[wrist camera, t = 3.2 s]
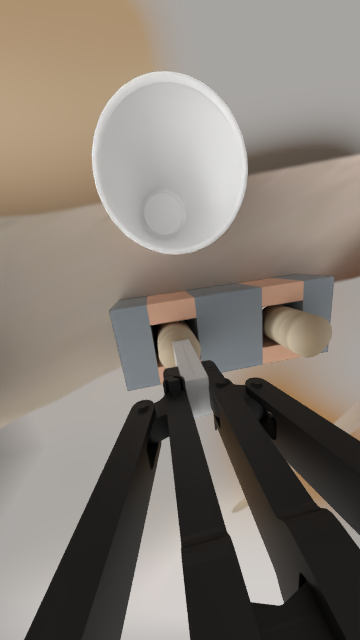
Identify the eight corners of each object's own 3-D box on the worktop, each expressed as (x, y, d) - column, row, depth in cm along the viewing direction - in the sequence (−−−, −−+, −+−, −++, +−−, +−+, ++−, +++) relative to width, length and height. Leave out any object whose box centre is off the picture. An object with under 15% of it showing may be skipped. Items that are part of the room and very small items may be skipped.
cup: (221, 214, 24) (277, 171, 13) (167, 277, 25) (180, 284, 14) (158, 143, 21) (166, 18, 10) (100, 217, 22) (55, 171, 12)
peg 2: (257, 338, 24) (291, 360, 18) (256, 306, 23) (292, 320, 17) (287, 333, 24) (329, 353, 19) (288, 301, 23) (333, 312, 18)
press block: (132, 364, 27) (127, 391, 21) (118, 300, 25) (109, 310, 19) (293, 335, 30) (327, 351, 24) (295, 274, 27) (334, 276, 21)
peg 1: (159, 350, 24) (162, 375, 19) (154, 319, 23) (155, 336, 18) (190, 344, 25) (202, 367, 19) (187, 314, 24) (198, 328, 18)
